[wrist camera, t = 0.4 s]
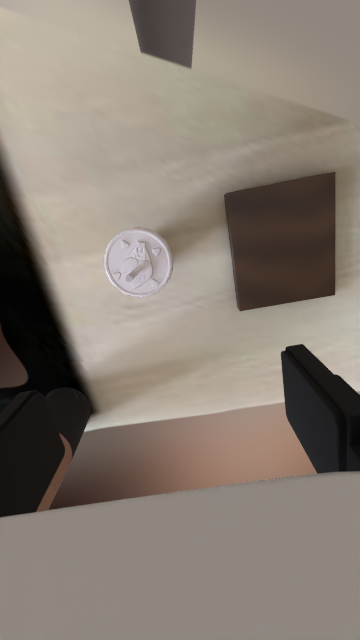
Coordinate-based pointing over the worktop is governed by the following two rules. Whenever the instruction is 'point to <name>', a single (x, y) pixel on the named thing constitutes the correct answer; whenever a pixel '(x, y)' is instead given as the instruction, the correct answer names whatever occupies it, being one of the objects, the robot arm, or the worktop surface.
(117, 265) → the smoothie
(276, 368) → the worktop surface
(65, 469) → the travel mug
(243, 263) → the walnut board
